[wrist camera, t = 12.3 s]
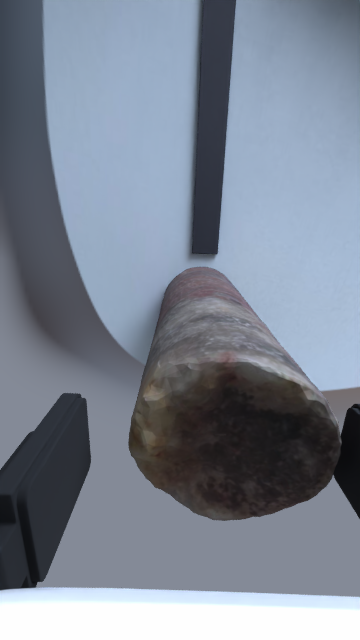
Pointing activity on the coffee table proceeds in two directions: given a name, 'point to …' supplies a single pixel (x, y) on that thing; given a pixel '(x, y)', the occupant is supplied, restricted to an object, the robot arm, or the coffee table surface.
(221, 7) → the strip
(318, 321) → the coffee table surface
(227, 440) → the brown weathered cylinder
